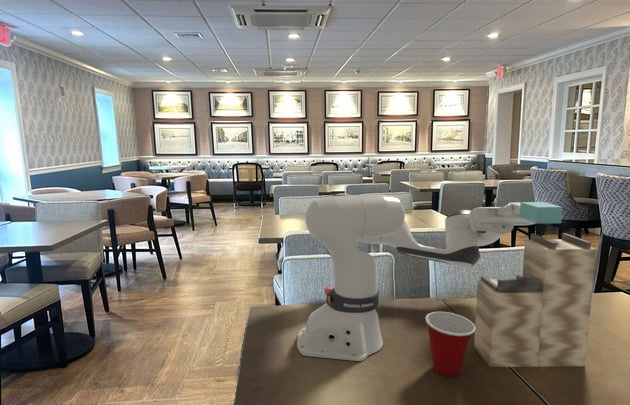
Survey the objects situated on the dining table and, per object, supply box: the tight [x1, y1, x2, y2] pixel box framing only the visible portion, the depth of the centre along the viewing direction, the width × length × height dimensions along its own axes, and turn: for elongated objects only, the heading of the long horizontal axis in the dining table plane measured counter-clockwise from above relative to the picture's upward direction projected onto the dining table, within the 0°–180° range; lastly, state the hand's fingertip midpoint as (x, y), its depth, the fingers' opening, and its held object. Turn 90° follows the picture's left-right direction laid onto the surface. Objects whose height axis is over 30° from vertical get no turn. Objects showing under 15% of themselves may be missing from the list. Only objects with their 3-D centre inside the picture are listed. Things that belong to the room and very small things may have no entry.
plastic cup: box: [425, 311, 476, 377], centre depth 88 cm, size 11×11×12 cm
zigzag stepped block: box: [473, 232, 597, 368], centre depth 92 cm, size 22×9×30 cm, turn 90°
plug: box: [508, 201, 563, 224], centre depth 103 cm, size 6×17×4 cm, turn 0°
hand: (519, 206), depth 108 cm, fingers closed on plug, 3 cm apart
